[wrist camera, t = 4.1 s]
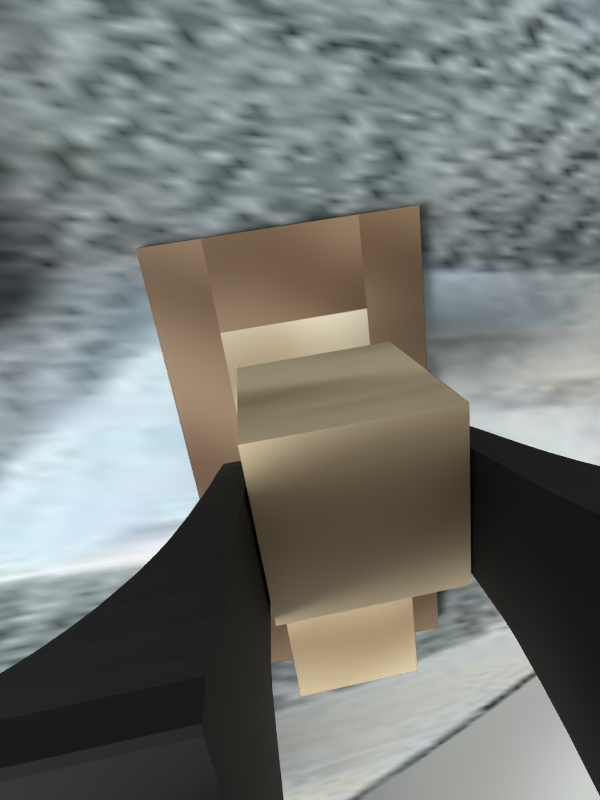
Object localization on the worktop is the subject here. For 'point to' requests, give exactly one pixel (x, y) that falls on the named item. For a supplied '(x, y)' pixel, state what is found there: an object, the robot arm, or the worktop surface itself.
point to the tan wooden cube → (355, 479)
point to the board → (280, 321)
